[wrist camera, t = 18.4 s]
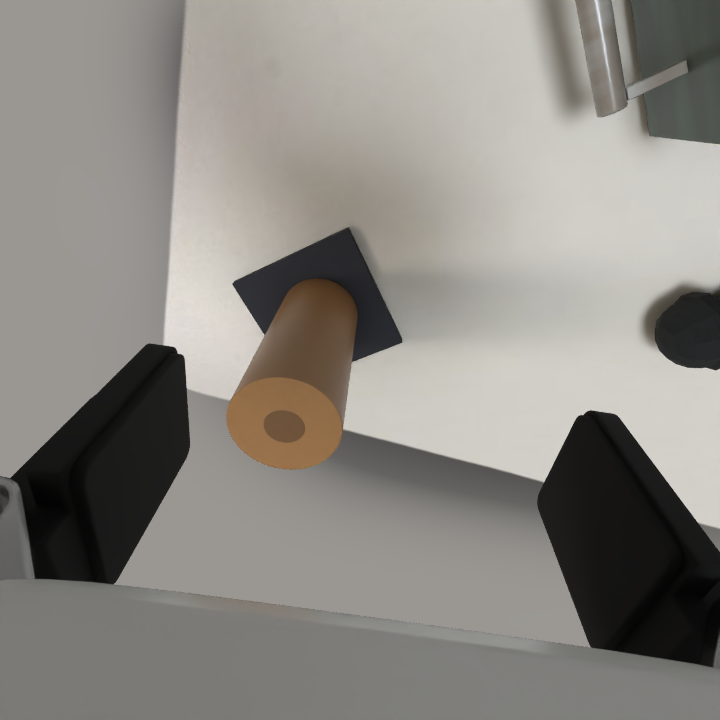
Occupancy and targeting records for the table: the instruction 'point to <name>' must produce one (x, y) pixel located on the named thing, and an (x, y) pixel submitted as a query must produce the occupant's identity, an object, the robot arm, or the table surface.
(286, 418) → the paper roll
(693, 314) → the microphone
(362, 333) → the mat
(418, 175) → the table surface
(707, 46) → the drawer
